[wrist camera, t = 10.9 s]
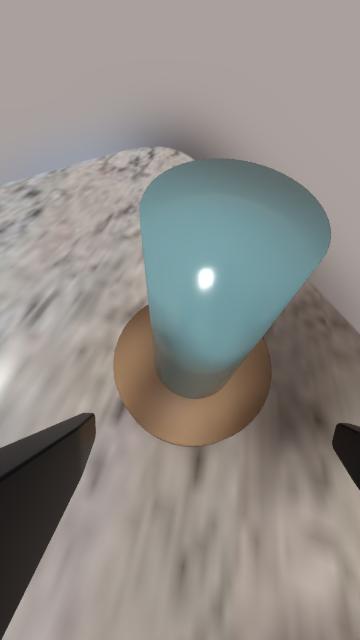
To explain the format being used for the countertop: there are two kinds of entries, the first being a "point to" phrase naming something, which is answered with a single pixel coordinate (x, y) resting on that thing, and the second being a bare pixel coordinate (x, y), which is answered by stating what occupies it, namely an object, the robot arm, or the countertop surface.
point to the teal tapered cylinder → (222, 264)
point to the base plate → (179, 412)
